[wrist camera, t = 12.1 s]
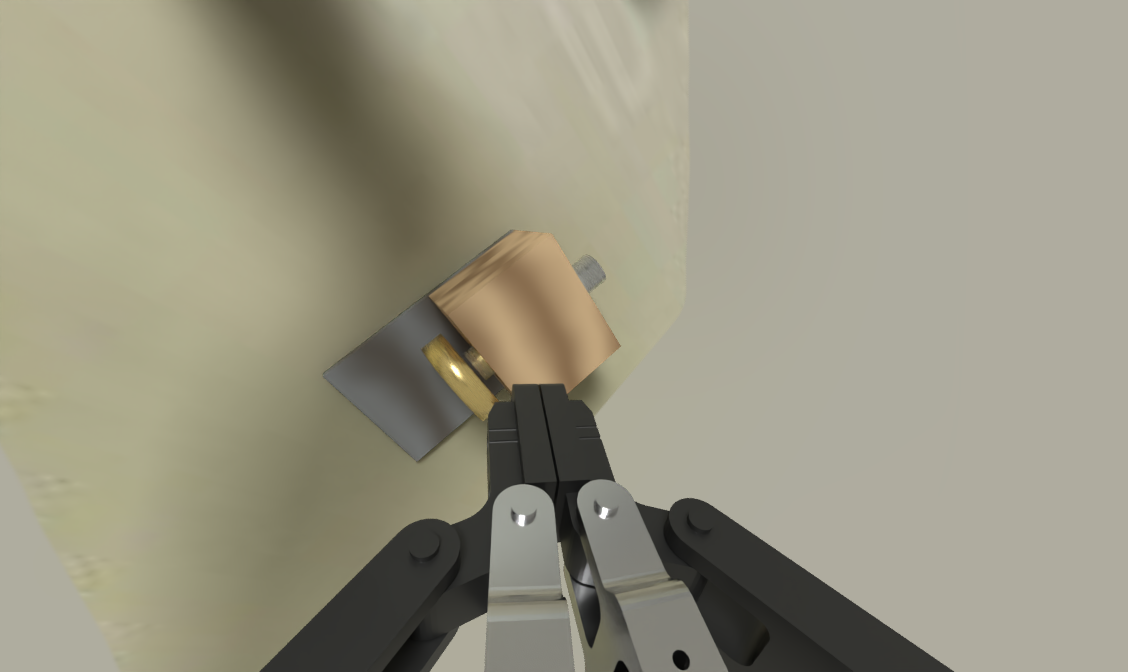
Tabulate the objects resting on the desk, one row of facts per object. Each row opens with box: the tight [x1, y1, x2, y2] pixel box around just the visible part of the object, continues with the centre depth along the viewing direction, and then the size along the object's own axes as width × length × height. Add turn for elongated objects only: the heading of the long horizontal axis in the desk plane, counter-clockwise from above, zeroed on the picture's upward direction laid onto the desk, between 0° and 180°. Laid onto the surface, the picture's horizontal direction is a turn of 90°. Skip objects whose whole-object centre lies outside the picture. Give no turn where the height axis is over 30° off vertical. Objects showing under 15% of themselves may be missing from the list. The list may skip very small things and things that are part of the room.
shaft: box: [421, 254, 606, 421], centre depth 38 cm, size 16×8×8 cm, turn 125°
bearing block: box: [323, 230, 621, 461], centre depth 38 cm, size 21×12×10 cm, turn 125°
